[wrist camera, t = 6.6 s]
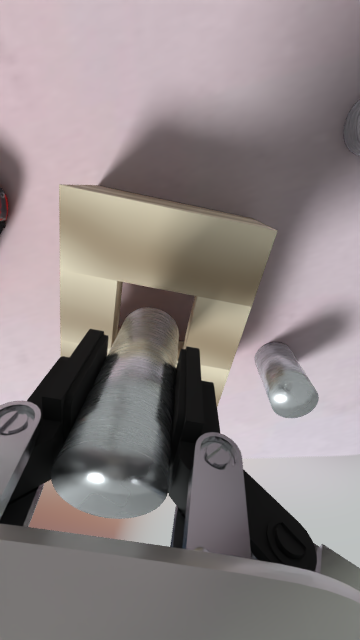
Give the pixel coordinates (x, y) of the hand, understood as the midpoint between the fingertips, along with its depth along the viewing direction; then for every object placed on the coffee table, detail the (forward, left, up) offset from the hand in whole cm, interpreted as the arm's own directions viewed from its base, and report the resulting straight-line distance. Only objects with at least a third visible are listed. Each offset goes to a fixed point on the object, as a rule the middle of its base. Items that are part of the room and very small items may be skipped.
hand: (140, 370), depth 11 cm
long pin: (0, 0, -3) cm, 3 cm away
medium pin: (+4, +10, -10) cm, 14 cm away
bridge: (0, 0, -10) cm, 10 cm away
